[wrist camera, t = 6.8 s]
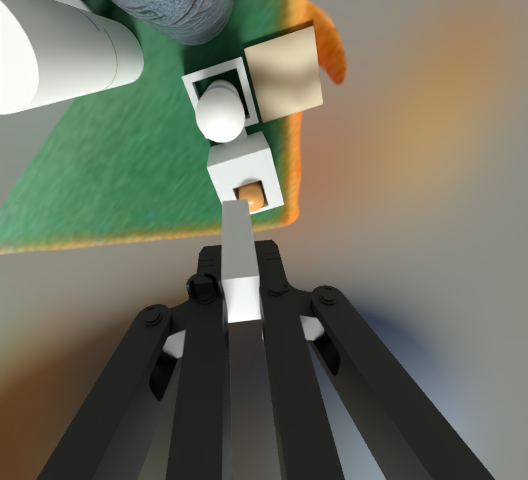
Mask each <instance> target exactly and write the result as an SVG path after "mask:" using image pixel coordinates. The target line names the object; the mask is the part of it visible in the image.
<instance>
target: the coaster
mask: <svg viewBox="0 0 528 480" xmlns="http://www.w3.org/2000/svg"><path fill="white" fill-rule="evenodd" d="M244 51H245V55H246V59H247V63H248V67H249V71H250V75H251V79H252V83H253V87H254V91H255V95H256V99H257V103H258V107H259V111H260V114H261V118H262V122H263V123H265V122H268V121H271V120H274V119H277V118H280V117H283V116H287V115H290V114H293V113H296V112H299V111H302V110H306V109H309V108H312V107H315V106H318V105H321V104H323V101H322V92H321V83H320V75H319V66H318V58H317V49H316V41H315V32H314V26H311V27H308V28H305V29H302V30H299V31H296V32H293V33H290V34H287V35H284V36H281V37H278V38H275V39H272V40H269V41H266V42H263V43H260V44H257V45H254V46H251V47H248V48H245V49H244Z"/></svg>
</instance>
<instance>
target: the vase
mask: <svg viewBox="0 0 528 480" xmlns="http://www.w3.org/2000/svg"><path fill="white" fill-rule="evenodd" d="M112 1H113V2H114V3H115V4H116V5H117V6H118V7H120V8H121V9H122V10H124V11H125V12H127V13H128V14H130V15H132V16H133V17H135V18H136V19H138V20H140V21H141V22H143V23H145V24H146V25H148V26H150V27H151V28H153V29H155V30H156V31H158V32H159V33H161V34H163V35H164V36H166V37H168V38H169V39H171V40H173V41H176V42H178V43H181V44H185V45H201V44H204V43H207V42H209V41H211V40H213V39H214V38H215V37H217V36H218V35H219V34H220V33H221V32H222V30H223V29H224V28H225V26H226V25H227V23H228V21H229V19H230V16H231V13H232V10H233V6H234V1H235V0H112Z"/></svg>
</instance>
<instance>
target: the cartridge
mask: <svg viewBox="0 0 528 480" xmlns="http://www.w3.org/2000/svg"><path fill="white" fill-rule="evenodd" d="M196 121H197V124H198V126H199V128H200V130H201V131H202V133H203V134H204V135H205V136H206V137H207V138H209V139H211V140H213V141H216V142H229V141H231V140H233V139H235V138H236V137H237V136H238V135H239V134H240V133H241V131H242V129H243V126H244V122H245V114H244V108H243V105H242V102H241V99H240V97H239V94H238V91H237V89H236V88H235V86H234V85H233V84H232V83H231V82H229V81H227V80H224V79H219V80H216V81H214V82H212V83H211V84H210V85H209V87H208V88H207V90H206V91H205V92H204V93H203V95H202V96H201V98H200V100H199V102H198V104H197V107H196Z"/></svg>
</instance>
